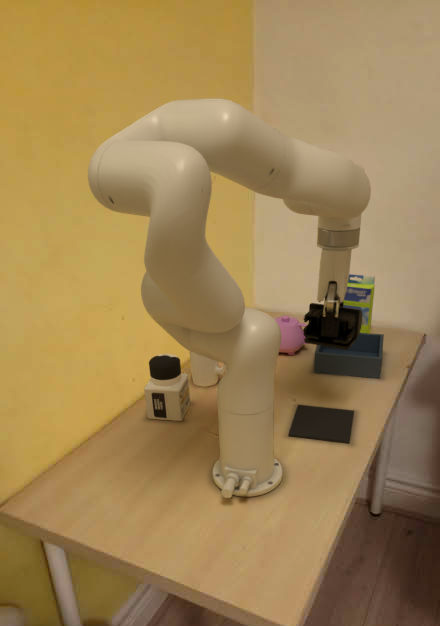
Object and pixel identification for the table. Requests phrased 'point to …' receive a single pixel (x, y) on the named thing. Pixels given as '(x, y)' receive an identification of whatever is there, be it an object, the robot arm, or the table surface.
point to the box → (361, 298)
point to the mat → (322, 423)
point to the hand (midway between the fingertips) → (331, 327)
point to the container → (167, 389)
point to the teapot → (290, 334)
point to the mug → (205, 370)
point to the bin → (352, 358)
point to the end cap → (347, 327)
